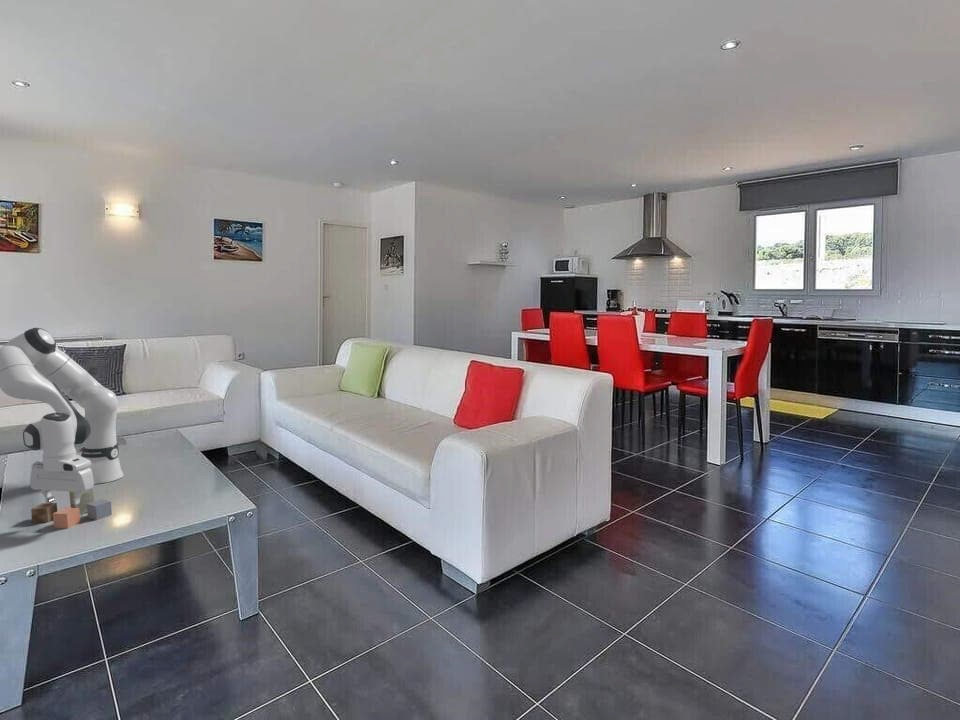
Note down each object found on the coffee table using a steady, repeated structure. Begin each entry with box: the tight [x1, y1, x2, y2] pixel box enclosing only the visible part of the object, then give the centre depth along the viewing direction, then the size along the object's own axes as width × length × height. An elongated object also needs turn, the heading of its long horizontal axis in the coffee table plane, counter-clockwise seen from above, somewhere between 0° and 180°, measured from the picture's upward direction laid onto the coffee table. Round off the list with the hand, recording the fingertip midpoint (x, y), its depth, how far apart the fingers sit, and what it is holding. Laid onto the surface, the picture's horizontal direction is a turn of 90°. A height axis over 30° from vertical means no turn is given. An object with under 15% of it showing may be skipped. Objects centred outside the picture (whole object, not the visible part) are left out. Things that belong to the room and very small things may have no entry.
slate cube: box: [86, 498, 113, 521], centre depth 192 cm, size 5×5×5 cm
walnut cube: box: [30, 502, 58, 524], centre depth 189 cm, size 5×5×5 cm
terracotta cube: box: [52, 507, 81, 529], centre depth 185 cm, size 5×5×5 cm
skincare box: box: [68, 486, 96, 515], centre depth 195 cm, size 6×4×12 cm
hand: (63, 502), depth 184 cm, fingers open, 8 cm apart
